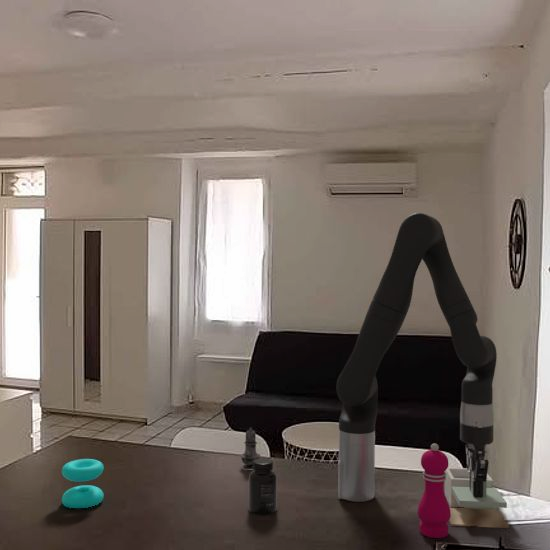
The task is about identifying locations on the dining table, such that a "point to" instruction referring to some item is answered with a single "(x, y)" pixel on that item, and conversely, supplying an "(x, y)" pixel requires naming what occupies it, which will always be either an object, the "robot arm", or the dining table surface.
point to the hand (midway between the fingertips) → (476, 493)
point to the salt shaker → (250, 450)
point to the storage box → (459, 483)
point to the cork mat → (477, 518)
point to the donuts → (85, 493)
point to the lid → (488, 501)
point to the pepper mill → (434, 495)
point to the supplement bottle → (262, 488)
